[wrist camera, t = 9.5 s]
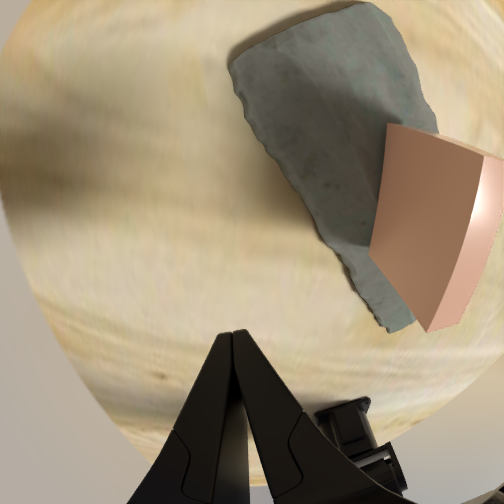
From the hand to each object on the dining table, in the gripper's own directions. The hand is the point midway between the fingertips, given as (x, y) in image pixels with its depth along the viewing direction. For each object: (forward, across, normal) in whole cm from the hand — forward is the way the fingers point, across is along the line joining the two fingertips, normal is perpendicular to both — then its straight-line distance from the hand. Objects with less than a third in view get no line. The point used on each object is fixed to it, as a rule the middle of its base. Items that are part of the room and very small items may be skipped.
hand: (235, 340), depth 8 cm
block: (+6, -9, -1) cm, 11 cm away
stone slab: (+9, -10, 0) cm, 13 cm away
